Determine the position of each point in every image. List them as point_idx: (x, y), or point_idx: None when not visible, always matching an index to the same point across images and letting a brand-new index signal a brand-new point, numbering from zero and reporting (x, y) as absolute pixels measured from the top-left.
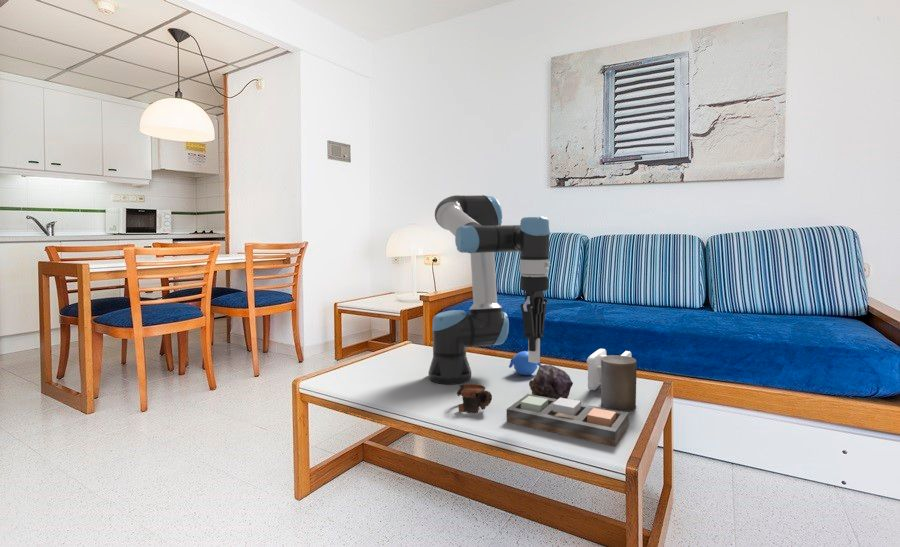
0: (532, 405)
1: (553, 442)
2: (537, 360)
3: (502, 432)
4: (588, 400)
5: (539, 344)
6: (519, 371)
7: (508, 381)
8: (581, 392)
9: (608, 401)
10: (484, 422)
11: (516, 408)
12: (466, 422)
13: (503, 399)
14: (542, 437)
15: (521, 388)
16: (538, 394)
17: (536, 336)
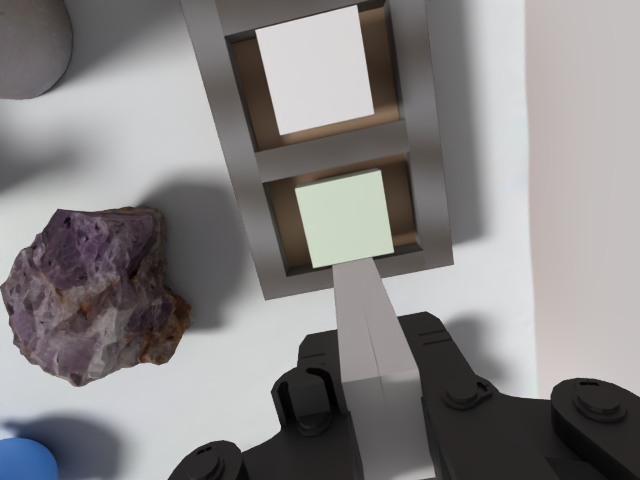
0: (385, 202)
1: (492, 29)
2: (375, 266)
3: (519, 208)
4: (57, 151)
5: (350, 335)
6: (56, 469)
7: (135, 450)
8: (9, 217)
9: (49, 28)
10: (484, 295)
11: (426, 241)
12: (516, 332)
13: (283, 367)
14: (477, 84)
15: (154, 386)
16: (180, 302)
17: (473, 404)
